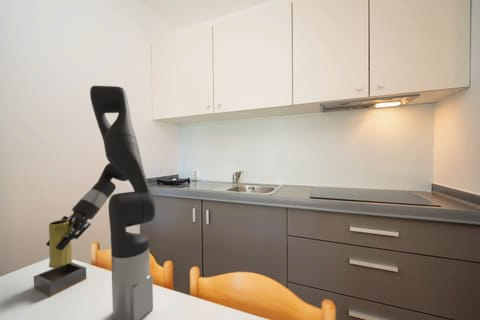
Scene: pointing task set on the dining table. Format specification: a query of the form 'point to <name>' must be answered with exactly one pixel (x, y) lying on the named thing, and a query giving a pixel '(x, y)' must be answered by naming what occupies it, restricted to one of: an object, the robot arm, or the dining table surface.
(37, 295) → the dining table surface
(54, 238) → the vase
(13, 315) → the dining table surface
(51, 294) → the square grey tray
